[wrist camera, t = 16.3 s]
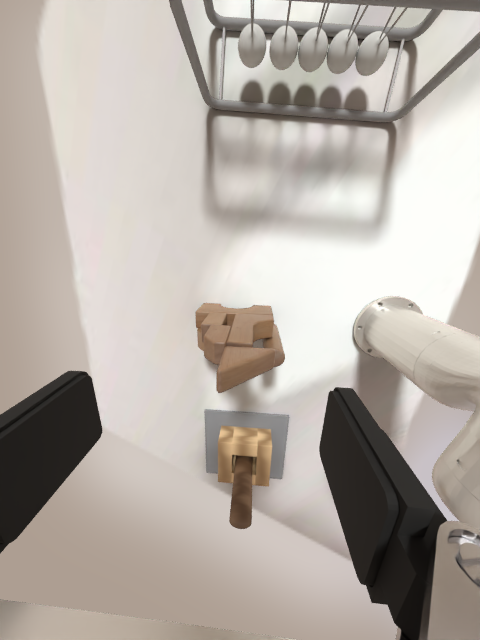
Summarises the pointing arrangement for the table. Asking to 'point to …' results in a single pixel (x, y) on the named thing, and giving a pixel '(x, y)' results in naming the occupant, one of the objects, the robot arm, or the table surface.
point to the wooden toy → (238, 342)
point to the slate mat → (249, 420)
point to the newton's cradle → (323, 51)
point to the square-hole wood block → (244, 452)
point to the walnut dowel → (242, 493)
